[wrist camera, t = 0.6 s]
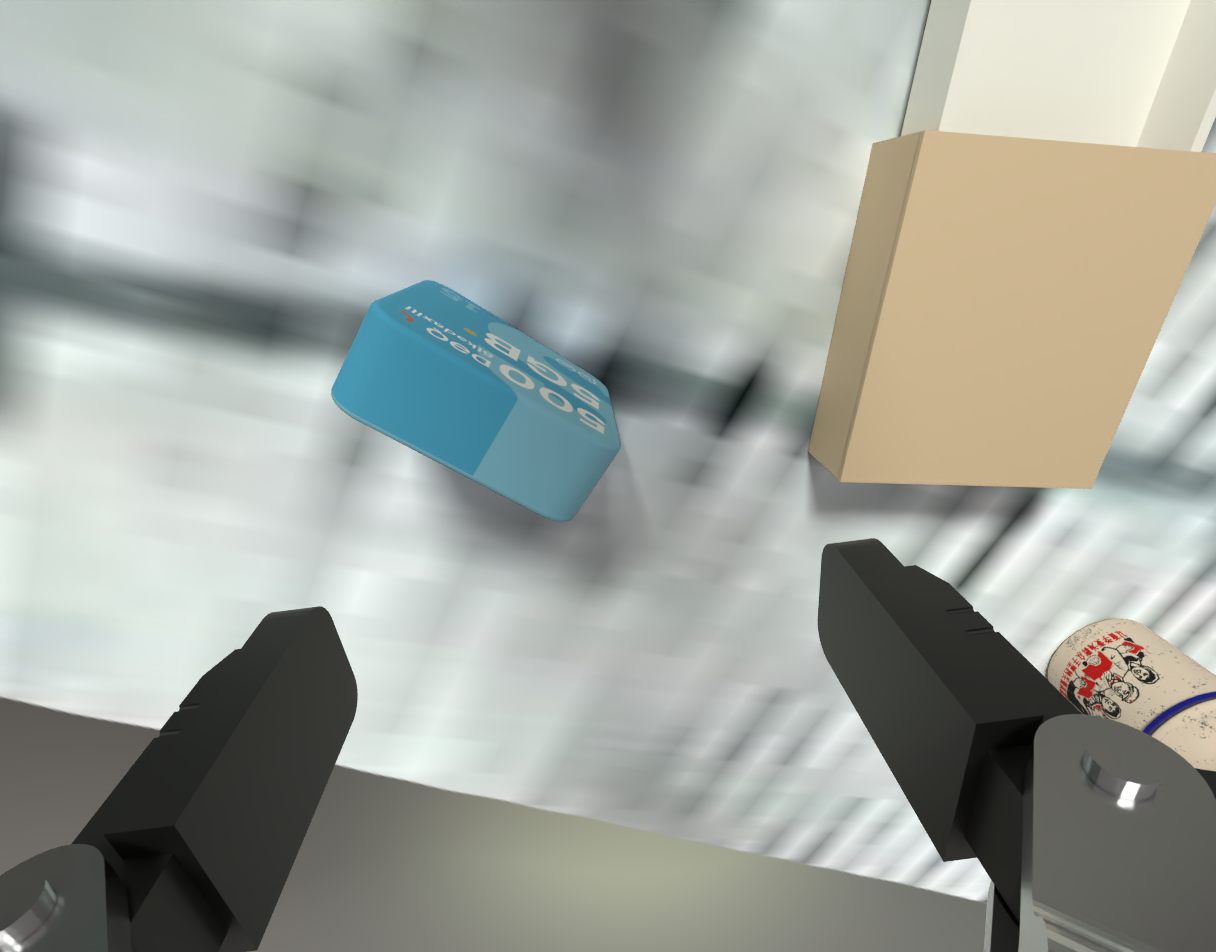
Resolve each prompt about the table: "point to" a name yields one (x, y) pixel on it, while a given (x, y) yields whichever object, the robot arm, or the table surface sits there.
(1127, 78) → the tray
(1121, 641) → the teacup with lid
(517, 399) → the data package
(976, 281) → the mailer sleeve
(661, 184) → the table surface
